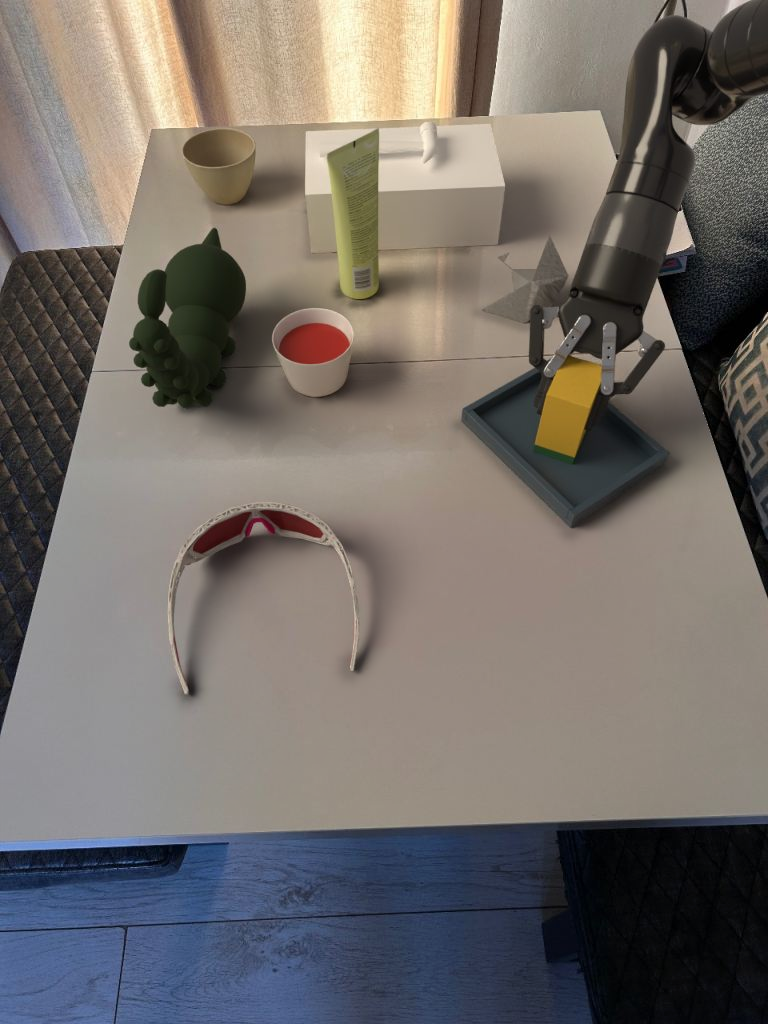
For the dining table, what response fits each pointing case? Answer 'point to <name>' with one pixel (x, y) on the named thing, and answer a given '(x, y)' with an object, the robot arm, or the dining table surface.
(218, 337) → the toy figurine
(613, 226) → the robot arm
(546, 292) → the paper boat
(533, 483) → the tray
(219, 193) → the flower pot
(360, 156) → the tube
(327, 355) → the white round cup
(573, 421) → the sponge
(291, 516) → the sunglasses
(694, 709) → the dining table surface
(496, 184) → the tissue box
